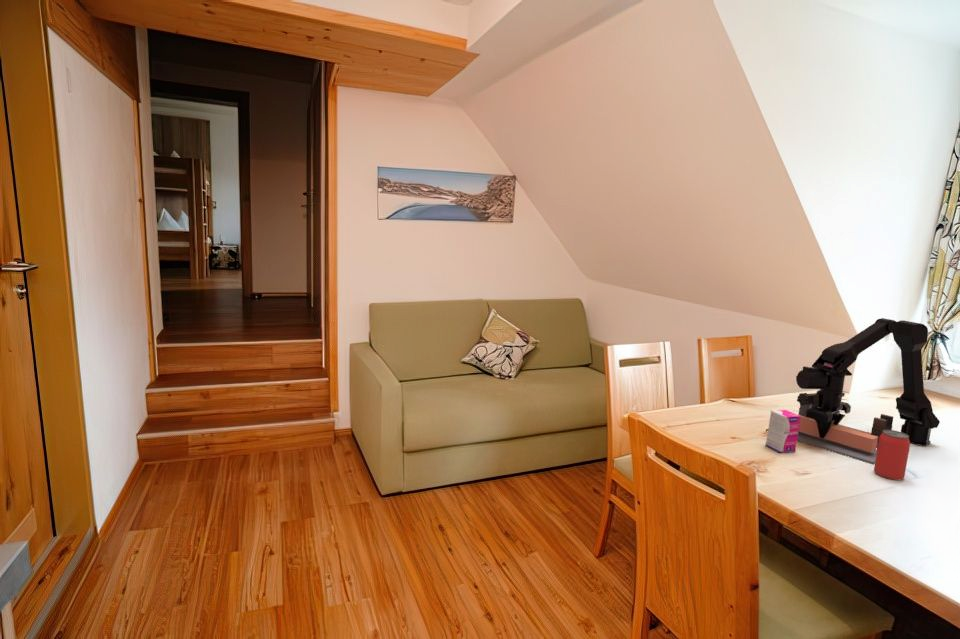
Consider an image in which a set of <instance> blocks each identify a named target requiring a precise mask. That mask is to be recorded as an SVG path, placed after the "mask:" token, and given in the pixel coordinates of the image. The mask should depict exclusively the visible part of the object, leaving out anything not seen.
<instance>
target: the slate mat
mask: <svg viewBox="0 0 960 639" xmlns="http://www.w3.org/2000/svg"><path fill="white" fill-rule="evenodd" d="M767 431H768V428H766V429H765V432H767ZM799 441H800V442H801V443H804V444H806V445H809V444H810V445H809V446H812V445H813V447H817V448H819V449H822V448H823V449H822V450H825V449H826V450H825V451H828V450H830V451H829V452H832V451H833V452H832V453H835V452H836V454H838V453H839V455H841V454H842V456H845V455H846V457H848V456H849V457H848V458H851V457H852V459H855V460H858V461H861V462H865V463H867V464H871V465H875V460H876V454H877V449H876V450H874V451H873V452H868V451H865V450H861V449H858V448H855V447H851V446H848V445H844V444H841V443H838V442H834V441H831V440H827V439H824V438H820V437H817V436H814V435H810V434H807V433H804V432H800V431H798V437H797V442H799Z"/></svg>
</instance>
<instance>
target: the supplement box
mask: <svg viewBox="0 0 960 639" xmlns="http://www.w3.org/2000/svg"><path fill="white" fill-rule="evenodd" d="M800 419H801V416H799V415H798V414H796V413H793V412H792V411H789V410H787V409H779V410H775V409H774V410H771V411H770V416H769V423H768V428H767V429H768V432H767V435H766V439H765V440H766V441H765V447H767V448H769V449H771V450H772V451H775V452H777V453H778V454H782V453H785V454H786V453H795V452H796V449H797V448H796V447H797V442H798V441H797V437H798V431H799V425H800Z"/></svg>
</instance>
